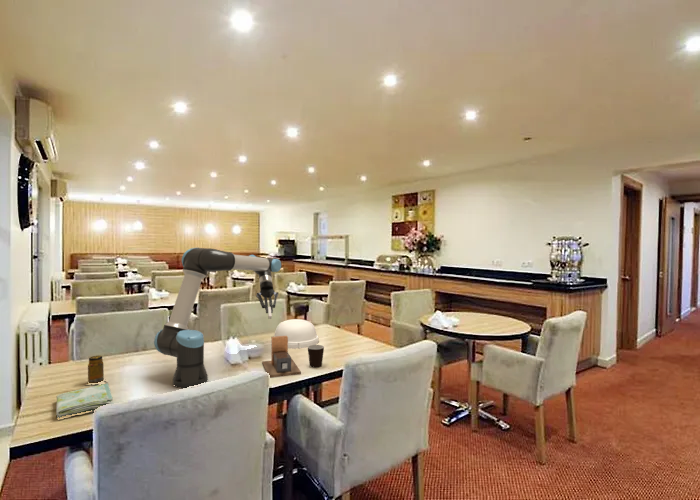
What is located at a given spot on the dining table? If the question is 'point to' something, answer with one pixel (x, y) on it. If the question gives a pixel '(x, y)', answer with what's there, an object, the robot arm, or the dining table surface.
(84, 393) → the towel
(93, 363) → the condiment
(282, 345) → the wooden upright block
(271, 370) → the base board
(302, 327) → the dome cover
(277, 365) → the block
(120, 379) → the dining table surface
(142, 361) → the dining table surface
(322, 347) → the coffee mug
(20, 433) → the dining table surface
